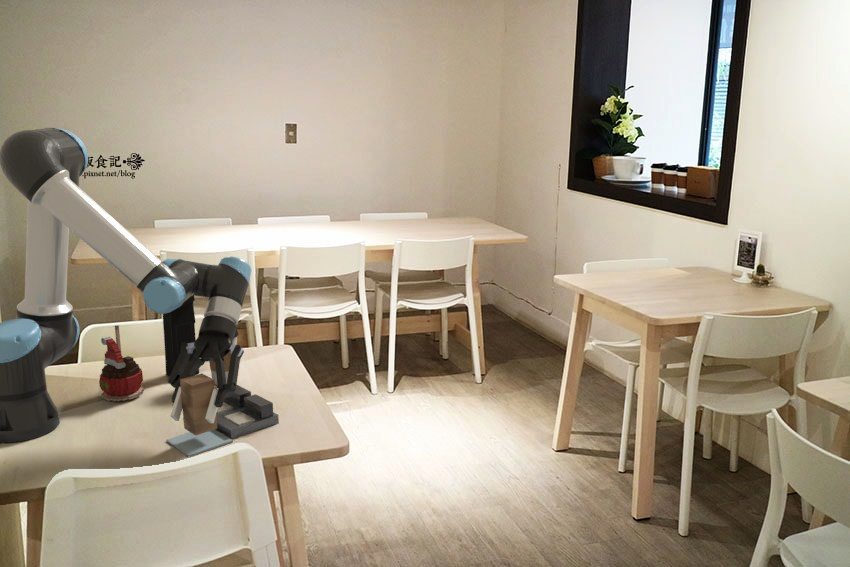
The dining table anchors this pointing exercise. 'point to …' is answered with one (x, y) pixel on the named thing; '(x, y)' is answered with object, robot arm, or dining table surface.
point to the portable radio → (178, 332)
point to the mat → (199, 442)
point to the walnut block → (197, 403)
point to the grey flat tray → (244, 413)
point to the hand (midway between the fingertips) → (191, 419)
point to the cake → (119, 372)
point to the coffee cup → (227, 361)
